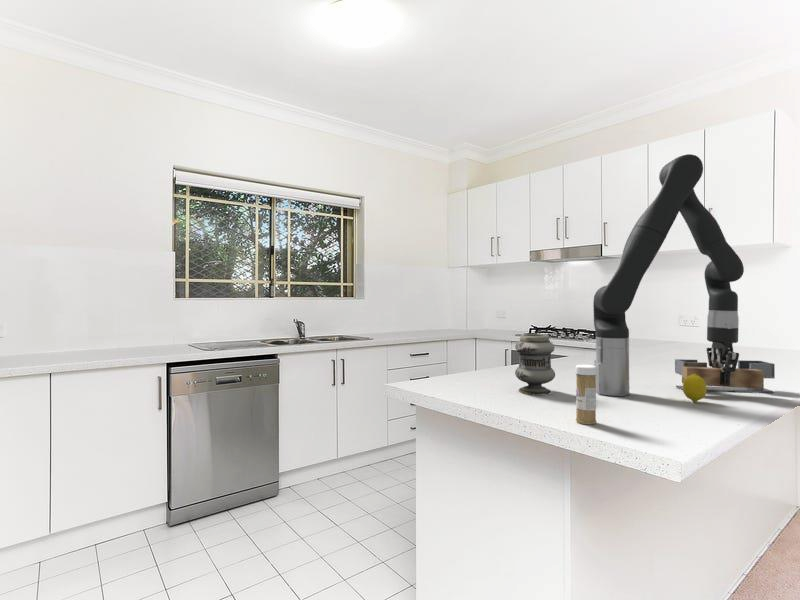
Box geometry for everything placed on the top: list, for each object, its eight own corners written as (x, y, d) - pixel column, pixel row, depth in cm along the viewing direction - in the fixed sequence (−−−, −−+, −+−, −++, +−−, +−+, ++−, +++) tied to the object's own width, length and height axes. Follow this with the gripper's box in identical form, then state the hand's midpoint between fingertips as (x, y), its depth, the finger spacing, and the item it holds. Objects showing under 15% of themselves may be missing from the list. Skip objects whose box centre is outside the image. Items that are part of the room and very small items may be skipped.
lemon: (699, 400, 127) (699, 372, 127) (710, 404, 121) (710, 375, 121) (678, 399, 127) (678, 371, 127) (689, 404, 122) (689, 375, 122)
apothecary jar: (515, 395, 135) (515, 335, 135) (514, 387, 147) (514, 332, 147) (557, 396, 133) (557, 336, 133) (553, 388, 145) (552, 333, 145)
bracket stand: (684, 391, 139) (683, 362, 139) (674, 386, 146) (674, 359, 146) (775, 393, 134) (775, 363, 134) (761, 389, 141) (760, 360, 141)
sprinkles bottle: (572, 420, 107) (571, 364, 107) (590, 419, 108) (590, 363, 108) (581, 425, 103) (581, 367, 103) (600, 424, 103) (600, 366, 103)
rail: (686, 385, 132) (687, 368, 132) (681, 382, 136) (682, 366, 136) (763, 388, 129) (763, 371, 128) (755, 386, 132) (756, 369, 132)
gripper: (697, 324, 140) (696, 379, 140) (720, 327, 126) (719, 388, 126) (724, 324, 138) (722, 380, 138) (750, 327, 124) (749, 389, 124)
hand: (721, 383), depth 132 cm, fingers closed on rail, 3 cm apart
